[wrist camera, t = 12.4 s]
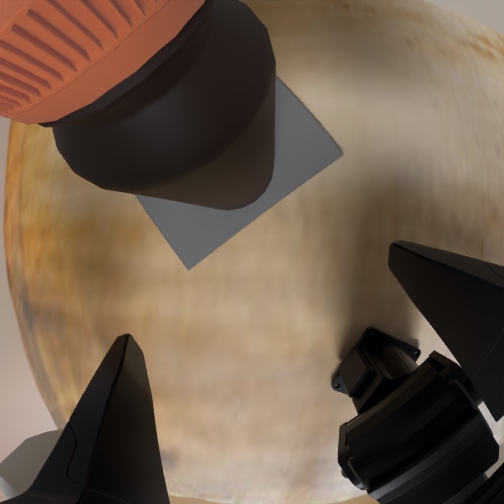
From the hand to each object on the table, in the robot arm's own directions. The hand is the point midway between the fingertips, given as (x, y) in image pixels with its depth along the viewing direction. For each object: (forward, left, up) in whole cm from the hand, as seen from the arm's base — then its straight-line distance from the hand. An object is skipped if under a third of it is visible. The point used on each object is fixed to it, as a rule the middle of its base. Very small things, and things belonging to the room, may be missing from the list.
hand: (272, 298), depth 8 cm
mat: (+6, -4, -13) cm, 15 cm away
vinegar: (+6, -4, -13) cm, 15 cm away
